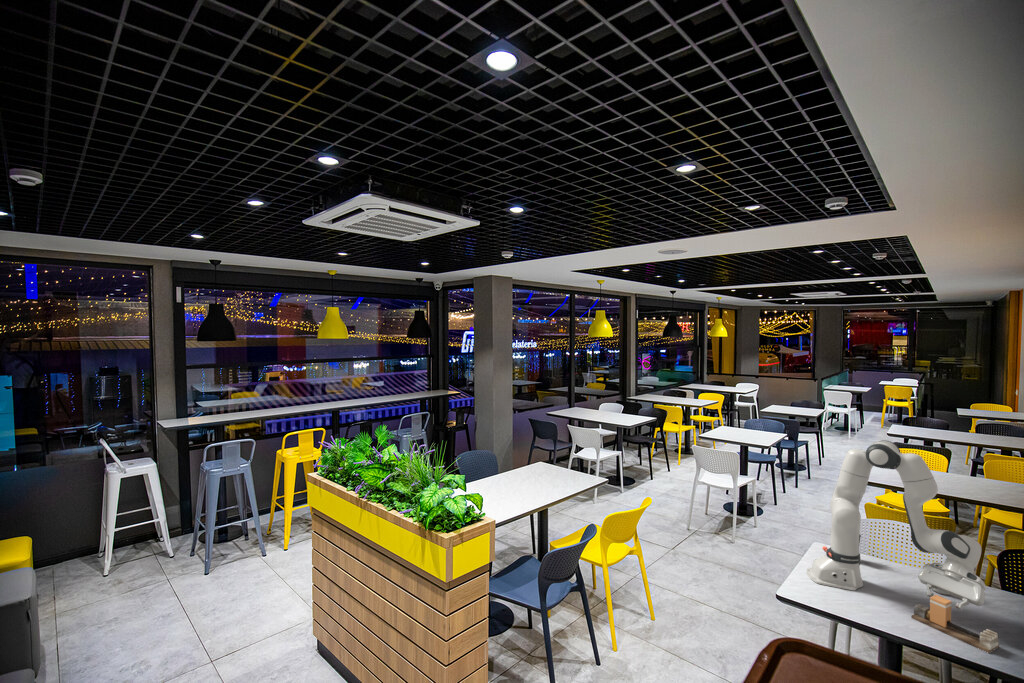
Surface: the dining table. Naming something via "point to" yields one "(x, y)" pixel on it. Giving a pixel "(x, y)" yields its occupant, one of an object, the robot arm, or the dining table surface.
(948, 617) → the orange box
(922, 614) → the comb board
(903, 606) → the dining table surface
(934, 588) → the can
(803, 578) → the dining table surface
